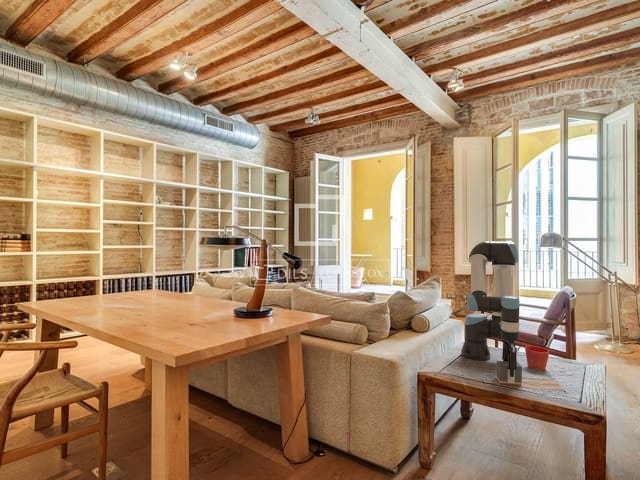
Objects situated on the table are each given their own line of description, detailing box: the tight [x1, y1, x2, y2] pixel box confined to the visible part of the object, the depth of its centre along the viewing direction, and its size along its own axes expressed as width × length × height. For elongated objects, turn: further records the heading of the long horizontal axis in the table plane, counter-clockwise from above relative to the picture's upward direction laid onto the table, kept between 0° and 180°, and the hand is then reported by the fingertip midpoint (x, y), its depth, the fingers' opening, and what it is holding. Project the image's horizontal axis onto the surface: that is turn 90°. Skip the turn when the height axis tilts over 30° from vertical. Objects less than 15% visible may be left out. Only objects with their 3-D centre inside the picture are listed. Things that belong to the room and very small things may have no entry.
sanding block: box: [496, 360, 523, 384], centre depth 170 cm, size 6×9×8 cm, turn 78°
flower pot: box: [524, 345, 550, 371], centre depth 189 cm, size 11×11×10 cm
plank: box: [493, 374, 567, 394], centre depth 168 cm, size 13×26×1 cm, turn 78°
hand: (508, 380), depth 170 cm, fingers closed on sanding block, 6 cm apart
